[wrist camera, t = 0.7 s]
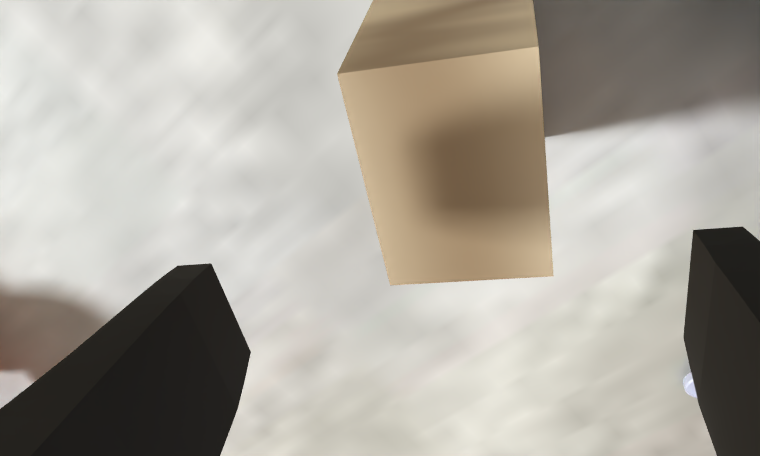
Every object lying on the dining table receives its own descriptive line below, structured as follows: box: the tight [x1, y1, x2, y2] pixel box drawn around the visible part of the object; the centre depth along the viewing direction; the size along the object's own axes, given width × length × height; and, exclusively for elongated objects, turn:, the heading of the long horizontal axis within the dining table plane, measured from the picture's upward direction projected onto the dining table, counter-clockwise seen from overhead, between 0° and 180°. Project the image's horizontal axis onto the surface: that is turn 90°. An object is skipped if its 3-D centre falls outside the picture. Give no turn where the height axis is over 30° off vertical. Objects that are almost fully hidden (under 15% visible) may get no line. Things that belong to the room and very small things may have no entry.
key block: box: [337, 0, 553, 285], centre depth 15 cm, size 4×5×6 cm
